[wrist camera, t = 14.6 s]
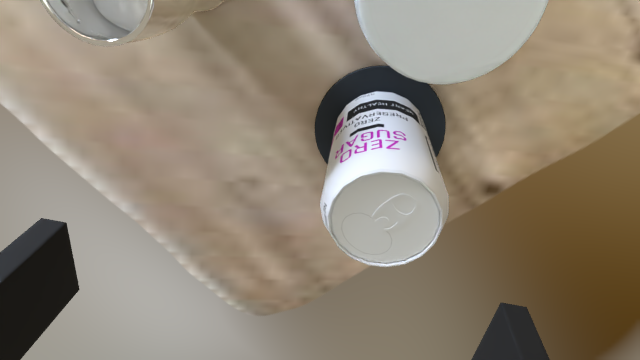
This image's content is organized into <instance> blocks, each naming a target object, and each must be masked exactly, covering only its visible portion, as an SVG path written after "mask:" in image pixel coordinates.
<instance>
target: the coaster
mask: <svg viewBox="0 0 640 360" xmlns="http://www.w3.org/2000/svg"><path fill="white" fill-rule="evenodd" d="M376 91H378V92H391V93H395V94H397V95H399V96H401V97H404V98H406V99H408V100H409V101H410V102H411V103H412V104H413V105H414V106H415V107H416V108H417V109H418V110H419V112H420V115H421V117H422V119H423V122H424V124H425V127H426V130H427V133H428V136H429V139H430V142H431V145H432V148H433V151H434V154H435V157H436V156H437V155H438V153H439V151H440V149H441V147H442V143H443V140H444V135H445V115H444V111H443V108H442V105H441V103H440V101H439V98H438V97H437V95H436V94H435V92H434V91H433V89H432V88H431V87H430V86H429V85H428V84H427V83H424V82H419V81H416V80H413V79H411V78H408V77H406V76H404V75H402V74H400V73H398V72H397V71H395V70H394V69H392V68H391V67H390V66H371V67H366V68H362V69H359V70H357V71H354V72H352V73H350V74H348V75H346V76H345V77H343V78H342V79H340V80H339V81H338V82H337V83H336V84H334V85H333V86H332V87H331V89H330V90H329V91H328V92H327V93H326V95H325V97H324V98H323V100H322V102H321V104H320V106H319V109H318V112H317V116H316V121H315V137H316V142H317V146H318V149H319V151H320V153H321V155H322V157H323V159H324V160H325V162H326V163H327V164H328V161H329V156H330V151H331V145H332V140H333V135H334V131H335V127H336V123H337V119H338V117H339V115H340V114H341V112H342V111H343V110H344V108H345V107H346V105H347V104H349V103H350V102H352V101H353V100H355V99H356V98H358V97H359V96H361V95H365V94H368V93H372V92H376Z"/></svg>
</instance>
